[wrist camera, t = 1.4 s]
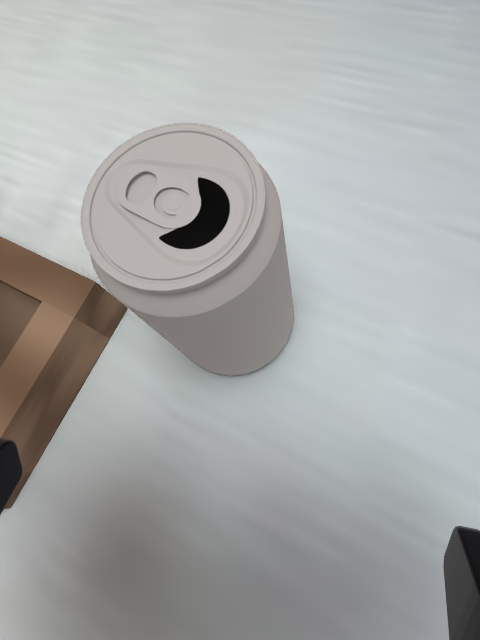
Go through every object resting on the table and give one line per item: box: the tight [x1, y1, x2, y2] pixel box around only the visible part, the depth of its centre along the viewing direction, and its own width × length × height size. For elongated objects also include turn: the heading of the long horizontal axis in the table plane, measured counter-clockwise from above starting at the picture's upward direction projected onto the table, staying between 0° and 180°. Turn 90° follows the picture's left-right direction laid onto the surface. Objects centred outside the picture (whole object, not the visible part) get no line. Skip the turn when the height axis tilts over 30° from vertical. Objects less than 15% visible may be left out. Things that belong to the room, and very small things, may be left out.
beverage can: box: [81, 123, 294, 376], centre depth 19 cm, size 6×6×12 cm
